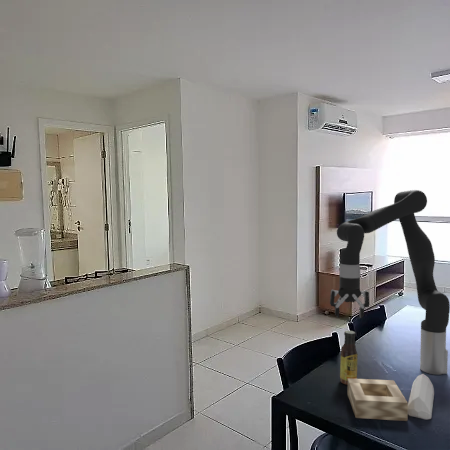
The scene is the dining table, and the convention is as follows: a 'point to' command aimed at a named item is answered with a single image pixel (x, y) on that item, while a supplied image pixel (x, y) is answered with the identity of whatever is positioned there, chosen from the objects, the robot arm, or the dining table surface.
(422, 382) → the crystal
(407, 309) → the dining table surface
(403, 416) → the socket block
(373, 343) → the dining table surface
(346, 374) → the sauce bottle
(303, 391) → the dining table surface
